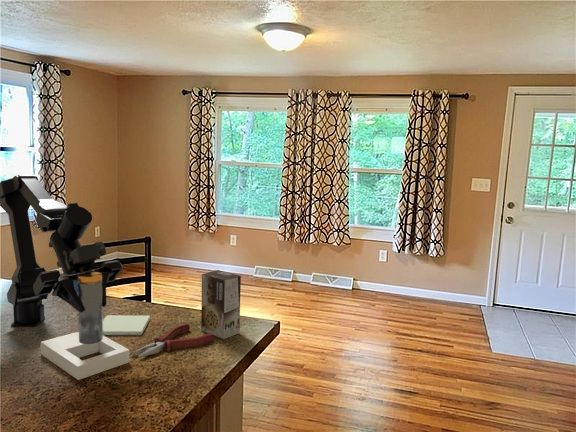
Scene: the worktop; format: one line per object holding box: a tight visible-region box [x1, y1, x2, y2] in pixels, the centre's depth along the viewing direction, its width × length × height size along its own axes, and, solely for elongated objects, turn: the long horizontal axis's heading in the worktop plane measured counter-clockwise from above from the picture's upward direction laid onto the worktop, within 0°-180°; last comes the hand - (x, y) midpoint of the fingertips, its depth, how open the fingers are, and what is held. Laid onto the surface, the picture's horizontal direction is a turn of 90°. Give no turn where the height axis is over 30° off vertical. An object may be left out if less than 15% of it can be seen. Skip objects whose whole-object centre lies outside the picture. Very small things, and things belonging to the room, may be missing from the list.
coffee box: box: [200, 269, 242, 340], centre depth 127 cm, size 9×6×16 cm
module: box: [77, 272, 104, 344], centre depth 106 cm, size 5×5×15 cm
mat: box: [103, 314, 151, 336], centre depth 129 cm, size 12×12×1 cm
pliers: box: [130, 323, 214, 359], centre depth 118 cm, size 12×20×3 cm, turn 142°
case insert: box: [40, 331, 130, 381], centre depth 109 cm, size 18×12×3 cm, turn 50°
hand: (93, 308), depth 105 cm, fingers closed on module, 5 cm apart
